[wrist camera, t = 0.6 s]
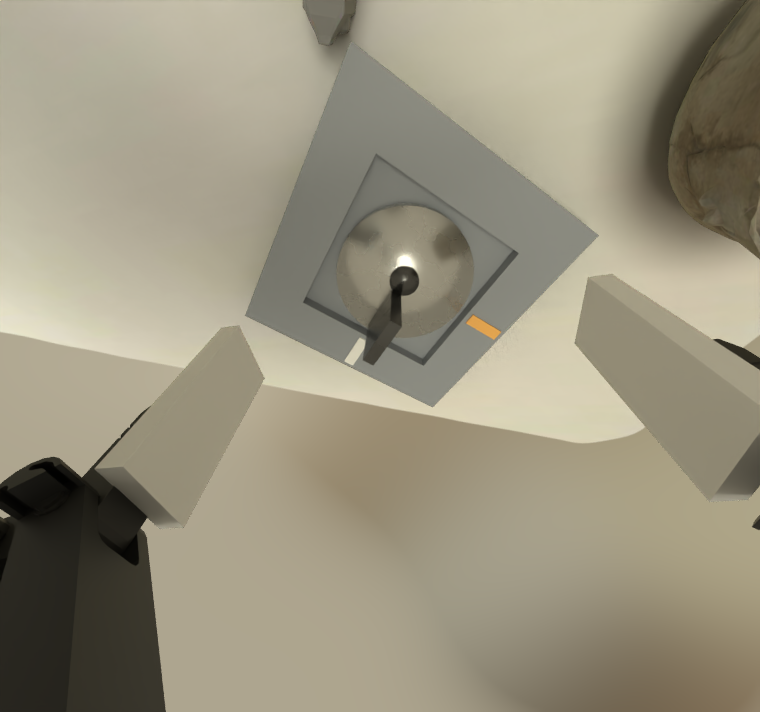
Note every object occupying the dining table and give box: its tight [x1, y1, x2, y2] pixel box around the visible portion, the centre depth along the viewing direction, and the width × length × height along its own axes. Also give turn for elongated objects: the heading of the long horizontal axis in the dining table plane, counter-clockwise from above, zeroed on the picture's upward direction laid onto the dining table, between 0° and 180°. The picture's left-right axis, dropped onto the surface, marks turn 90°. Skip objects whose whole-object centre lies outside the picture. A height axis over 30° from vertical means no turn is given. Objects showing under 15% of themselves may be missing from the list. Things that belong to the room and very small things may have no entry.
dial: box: [336, 203, 474, 366], centre depth 30 cm, size 14×14×8 cm
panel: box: [245, 41, 599, 407], centre depth 34 cm, size 26×26×3 cm
